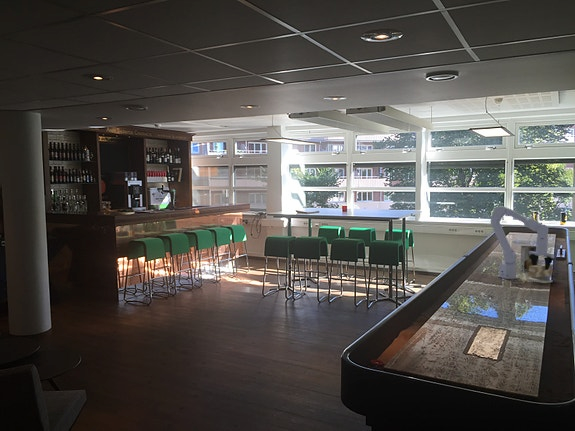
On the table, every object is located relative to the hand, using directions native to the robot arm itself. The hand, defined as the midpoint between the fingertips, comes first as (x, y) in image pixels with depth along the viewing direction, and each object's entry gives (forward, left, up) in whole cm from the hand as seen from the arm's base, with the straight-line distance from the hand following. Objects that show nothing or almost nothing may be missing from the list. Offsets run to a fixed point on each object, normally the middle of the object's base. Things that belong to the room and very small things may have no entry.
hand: (540, 268), depth 267 cm
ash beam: (0, 0, -4) cm, 4 cm away
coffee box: (+19, +28, -8) cm, 35 cm away
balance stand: (0, 0, -7) cm, 7 cm away
